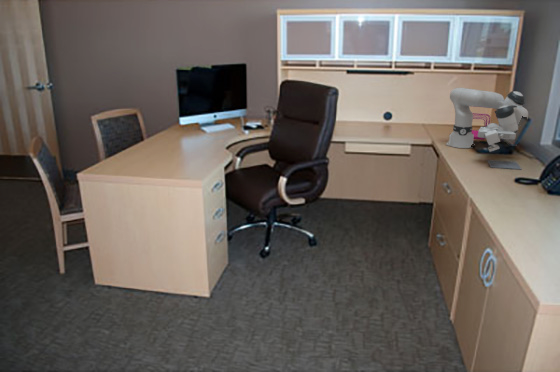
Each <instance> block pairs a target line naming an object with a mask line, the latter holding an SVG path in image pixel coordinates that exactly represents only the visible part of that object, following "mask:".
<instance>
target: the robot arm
mask: <svg viewBox="0 0 560 372" xmlns="http://www.w3.org/2000/svg"><path fill="white" fill-rule="evenodd" d="M449 99H450V101H451V102H452V104H453V107H454V113H455V115H454V116H455V118H454V125H453V127H452V129H453V130H452V132H451V133H450V134H449V136H448V141H447V142H446V144H445V145H446V146H449V147H452V148H457V149H458V148H459V149H469V148H472V147H471V145H472V144H474V139H473V138H474V135H473V134H472V130H473V120H474V119H473V118H474V116H473V115H474V114H472V113H473V112H472V111H471V109H470V107H473V108H485V109H494V114H495V117H496V119H497V121H498V123H494V122H490V124H488V123H487V126H486V127H484V126H480V128H479V129H478V130H477V131H478V137H480V138H485V139H486V136H485V133H487V132H490V131H493V130H496V131H497V133H498V136H499V139H500V140H501V139H502V140H503V139H504V140H516V136H517V133H518V131H519V126H518V124H519V122H520V120H521V118H522V116H523V117H527V119H528V118H529V111H528V110H527V109H526V108H525V107H523V105H524V104H526V102H525V96H524V94H523V93H521V92H520V91H514V90H512V91H510V92H508V94H507V96H506V97H505V98H504V95H502V94H501V93H498V92H495V91H490V90H489V91H488V90H480V89H473V88H466V87H456V88H453V89H452V90H451V91H450V93H449Z"/></svg>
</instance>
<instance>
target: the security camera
mask: <svg viewBox="0 0 560 372" xmlns="http://www.w3.org/2000/svg"><path fill="white" fill-rule="evenodd" d="M485 136H486V138H485V140H486V142H487V144H488V147H487V149H488V151H489V153H491V152H494V151H497V150H499V149H500V146H499V144H497V143H499V142H501V139H499V136H498V133H497V131H496V130H493V131H490V132H487V133H485Z"/></svg>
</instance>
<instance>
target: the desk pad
mask: <svg viewBox="0 0 560 372" xmlns="http://www.w3.org/2000/svg"><path fill="white" fill-rule="evenodd" d="M487 163H488V165H489V167H490V168H491V169H503V170H520V171H522V168H521V166H520V164H519V163H518V162H517V161H511V160H494V159H487Z"/></svg>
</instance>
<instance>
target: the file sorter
mask: <svg viewBox="0 0 560 372" xmlns="http://www.w3.org/2000/svg"><path fill="white" fill-rule="evenodd" d="M472 114H473V120H483V121H484V122H483V124H484V125H483V127H486V126H487V125H488V124H490V123H491V119H492V118H491V115H490V114H487V113H478V112H477V113H476V112H475V113H474V112H472ZM472 134H473V135H474V138H473V140H480V141H481V140H482V141H484V140H485V141H486V138H480V137H478V130H475V129H474V130H473V129H472Z"/></svg>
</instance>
